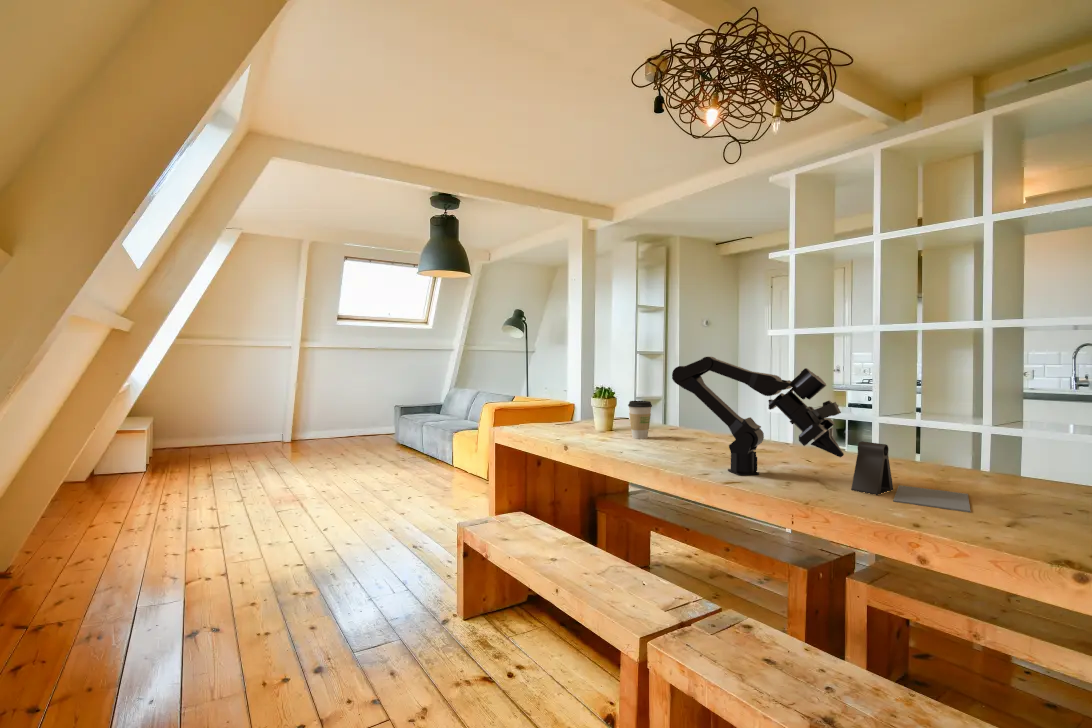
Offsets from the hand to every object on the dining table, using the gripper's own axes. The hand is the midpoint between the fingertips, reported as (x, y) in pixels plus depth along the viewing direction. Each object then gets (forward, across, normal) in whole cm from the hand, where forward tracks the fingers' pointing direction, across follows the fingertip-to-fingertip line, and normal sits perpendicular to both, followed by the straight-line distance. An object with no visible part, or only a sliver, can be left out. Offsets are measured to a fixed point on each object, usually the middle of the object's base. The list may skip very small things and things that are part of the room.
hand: (842, 456), depth 137 cm
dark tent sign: (+10, 0, +1) cm, 11 cm away
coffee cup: (-50, +40, +61) cm, 89 cm away
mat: (+19, 0, -8) cm, 20 cm away
